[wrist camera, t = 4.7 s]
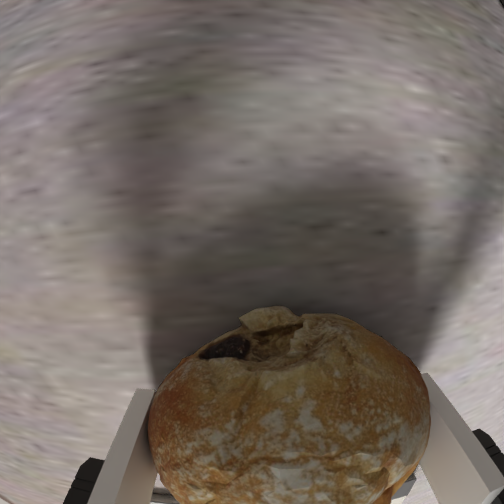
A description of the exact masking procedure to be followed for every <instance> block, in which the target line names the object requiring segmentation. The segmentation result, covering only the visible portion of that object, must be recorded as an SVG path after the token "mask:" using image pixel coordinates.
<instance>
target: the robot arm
mask: <svg viewBox="0 0 504 504" xmlns="http://www.w3.org/2000/svg"><path fill="white" fill-rule="evenodd" d="M501 2H502V3H503V5H504V0H501ZM421 376H422V378H423V380H424V382H425V384H426V386H427V389H428V393H429V401H430V416H431V427H430V435H429V440H428V445H427V447H426V450H425V452H424V455H423V457H422V458H421V460H420V461H419V464H420V466H421V468H422V470H423V472H424V474H425V476H426V478H427V480H428V482H429V484H430V486H431V488H432V490H433V492H434V494H435V496H436V498H437V500H438V502H439V504H504V454H503V453H501V450H500V449H499V448H498V446H496V444H495V442H494V441H493V440H492V438H491V437H490V436H489V435H488V434H487V433H485V432H484V431H482V430H481V429H477V430H474V431H471V429H470V428H469V427H468V425H467V424H466V423H465V421H464V420H463V419H462V417H461V416H460V415H459V413H458V412H457V410H456V409H455V408H454V407H453V405H452V404H451V403H450V401H449V400H448V399H447V397H446V396H445V395H444V393H443V392H442V391H441V389H440V388H439V387H438V386H437V384H436V383H435V382H434V380H433V379H432V378H431V377H430V375H429V374H428V373H424V374H421ZM155 394H156V392H155V390H148V389H136V391H135V393H134V396H133V398H132V400H131V402H130V404H129V407H128V409H127V411H126V413H125V416H124V418H123V420H122V422H121V425H120V427H119V429H118V431H117V434H116V436H115V438H114V441H113V443H112V445H111V448H110V450H109V452H108V455H107V457H106V459H105V460H100V459H95V458H91V457H90V458H89V459H88V460H87V461H86V462H84V463H83V464H82V465H81V466H80V468H79V470H78V472H77V474H76V476H75V480H74V481H73V483H72V485H71V488H70V489H69V491H68V494H67V496H66V498H65V500H64V502H63V504H150V500H151V496H152V492H153V488H154V484H155V480H156V476H157V473H158V472H157V470H156V468H155V466H154V464H153V458H152V454H151V451H150V447H149V440H148V420H149V414H150V409H151V406H152V403H153V399H154V397H155Z"/></svg>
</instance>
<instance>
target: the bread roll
mask: <svg viewBox="0 0 504 504" xmlns="http://www.w3.org/2000/svg"><path fill="white" fill-rule="evenodd" d="M239 320H240V322H241V324H242V325H241V326H240V327H239V328H237V329H235V330H232V331H229V332H227V333H225V334H223V335H222V336H220V337H218V338H216V339H215V340H213V341H211V342H209V343H208V344H206V345H204V346H202V347H201V348H200V349H199V350H198V351H197V352H196V353H194V354H193V355H190V356H188V357H185V358H183V359H182V360H181V362H180V363H179V364H178V366H177V367H176V368H175V369H173V370H172V371H171V372H170V373H169V374H168V375H167V376H166V378H165V379H164V381H163V382H162V384H161V385H160V386H159V388H158V390H157V392H156V394H155V397H154V399H153V403H152V406H151V409H150V414H149V420H148V440H149V447H150V451H151V454H152V458H153V464H154V466H155V468H156V470H157V472H158V473H159V475H160V480H161V482H162V483H163V485H164V486H165V487H166V488H167V489H168V490H169V491H170V492H171V494H172V495H173V496H174V498H175V499H176V500H177V501H178V502H179V503H180V504H391V498H392V496H393V495H394V494H395V493H396V492H397V490H398V489H399V488H400V487H401V486H402V485H403V483H404V482H405V481H406V480H407V479H408V477H409V476H410V475H411V474H412V473H413V471H414V470H415V469H416V467H417V465H418V463H419V461H420V460H421V458H422V457H423V455H424V452H425V450H426V447H427V445H428V440H429V435H430V427H431V416H430V401H429V393H428V389H427V386H426V384H425V382H424V380H423V378H422V376H421V373H420V371H419V370H418V369H417V367H416V366H415V365H414V363H413V362H412V361H411V360H410V358H409V357H407V356H406V355H405V354H403V353H402V352H401V351H399V350H397V349H396V348H395V347H394V346H393V345H391V344H390V343H389V342H388V341H386V340H385V339H384V338H383V337H382V336H378V335H376V334H374V333H372V332H371V331H369V330H367V329H365V328H364V327H363V326H361V325H360V324H358V323H356V322H355V321H353V320H351V319H348V318H346V317H343V316H341V315H338V314H327V313H321V314H303V315H302V316H297V315H295V314H294V313H293V312H292V311H291V310H290V309H288V308H287V307H285V306H271V307H264V308H257V309H254V310H252V311H250V312H248V313H247V314H245V315H243V316H241V317H239Z"/></svg>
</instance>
